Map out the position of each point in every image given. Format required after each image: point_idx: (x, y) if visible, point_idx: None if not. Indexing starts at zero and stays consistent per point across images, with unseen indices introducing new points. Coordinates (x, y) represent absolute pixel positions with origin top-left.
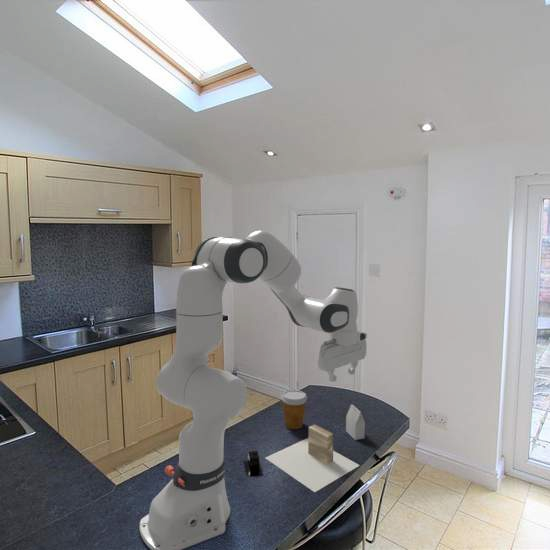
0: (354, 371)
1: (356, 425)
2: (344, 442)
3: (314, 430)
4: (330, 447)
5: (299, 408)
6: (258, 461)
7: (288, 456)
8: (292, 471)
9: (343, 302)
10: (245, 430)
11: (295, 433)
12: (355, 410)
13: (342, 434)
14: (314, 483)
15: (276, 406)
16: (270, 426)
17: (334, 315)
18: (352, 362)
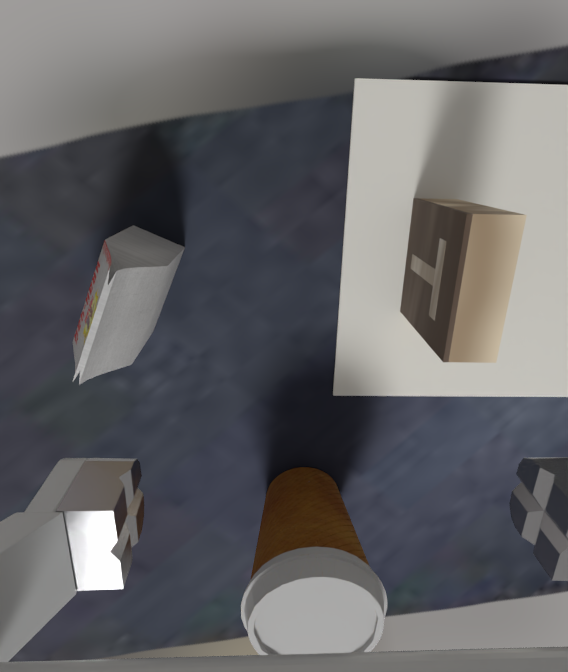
0: (64, 481)
1: (163, 261)
2: (240, 269)
3: (504, 317)
4: (461, 206)
5: (330, 533)
6: None
7: (515, 347)
8: None
9: None
10: (469, 568)
11: (348, 450)
12: (105, 322)
13: (190, 321)
14: None
15: (241, 630)
16: (379, 540)
17: None
18: (124, 664)
